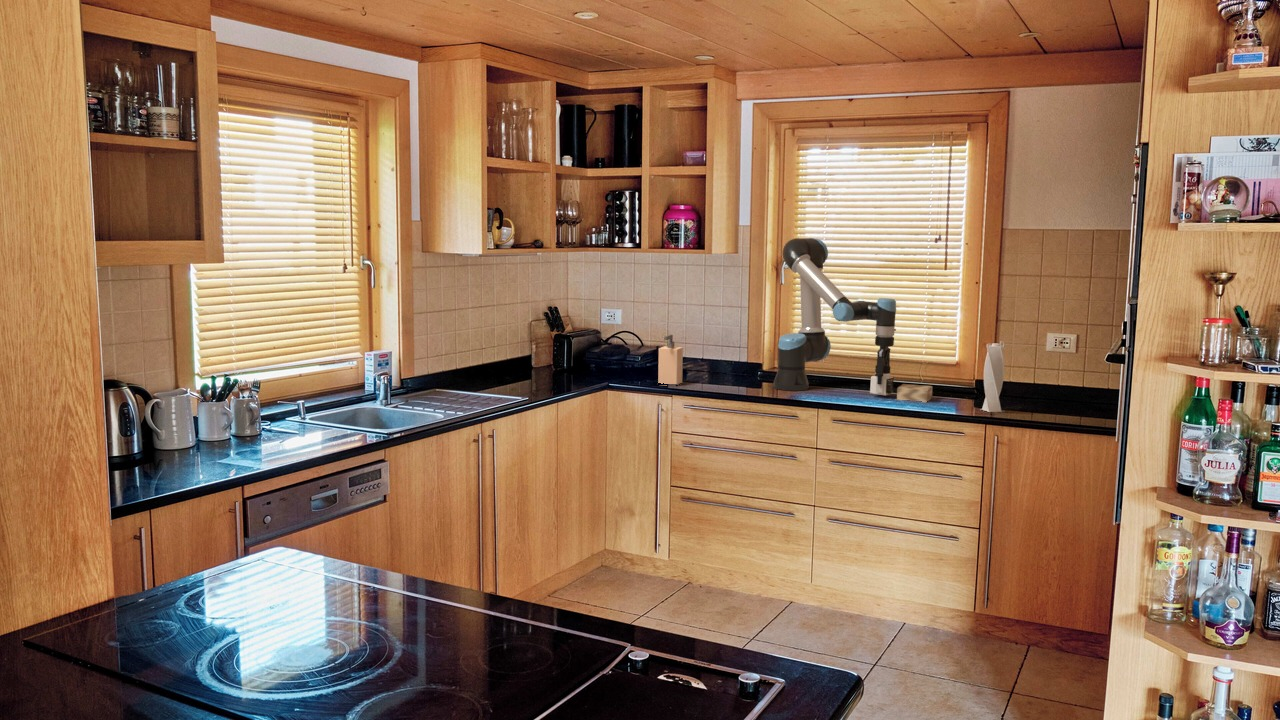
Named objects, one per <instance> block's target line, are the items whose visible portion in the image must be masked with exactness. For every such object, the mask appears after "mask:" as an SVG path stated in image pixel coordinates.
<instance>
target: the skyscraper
mask: <svg viewBox="0 0 1280 720" xmlns="http://www.w3.org/2000/svg"><path fill="white" fill-rule="evenodd" d="M1002 344H1003V345H1002ZM1004 349H1005V342H1004V340H1000V341H999V343H997V342H995V343H993V342H992V343H987V344H986V350H987V353H986V356H985V360H984V365H983V366H984V367H983V387H984V388H983V389H984V394H985V398H984V401H983V405H982V408H979V411H981V410H983V411H982V412H984V411H987V412H1006V411H1005V410H1002V406H1001V402H1000V396H1001V395H1000V394H1001V392H1002V388H1003V383H1004V378H1005V360H1004V353H1003V351H1004ZM987 412H986V413H987Z"/></svg>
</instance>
